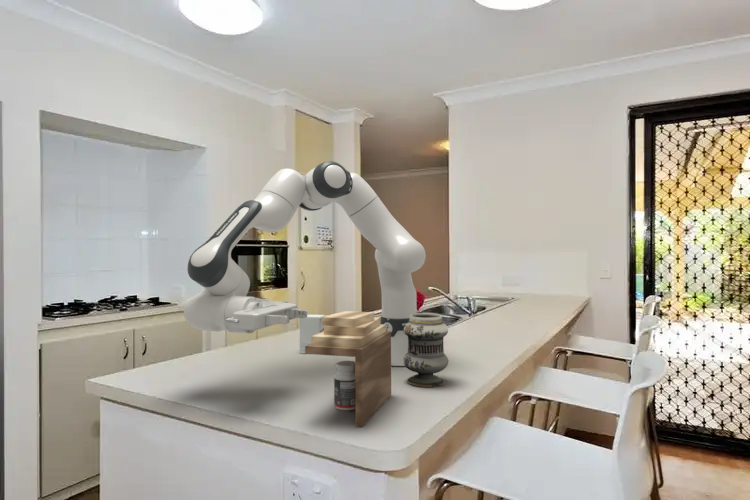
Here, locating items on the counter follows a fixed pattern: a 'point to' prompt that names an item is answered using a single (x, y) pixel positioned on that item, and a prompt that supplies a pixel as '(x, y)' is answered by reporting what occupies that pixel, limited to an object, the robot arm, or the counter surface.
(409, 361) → the apothecary jar
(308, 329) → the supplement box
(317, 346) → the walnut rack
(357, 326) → the offcut stack
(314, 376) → the counter surface
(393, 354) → the robot arm
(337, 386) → the pill bottle
